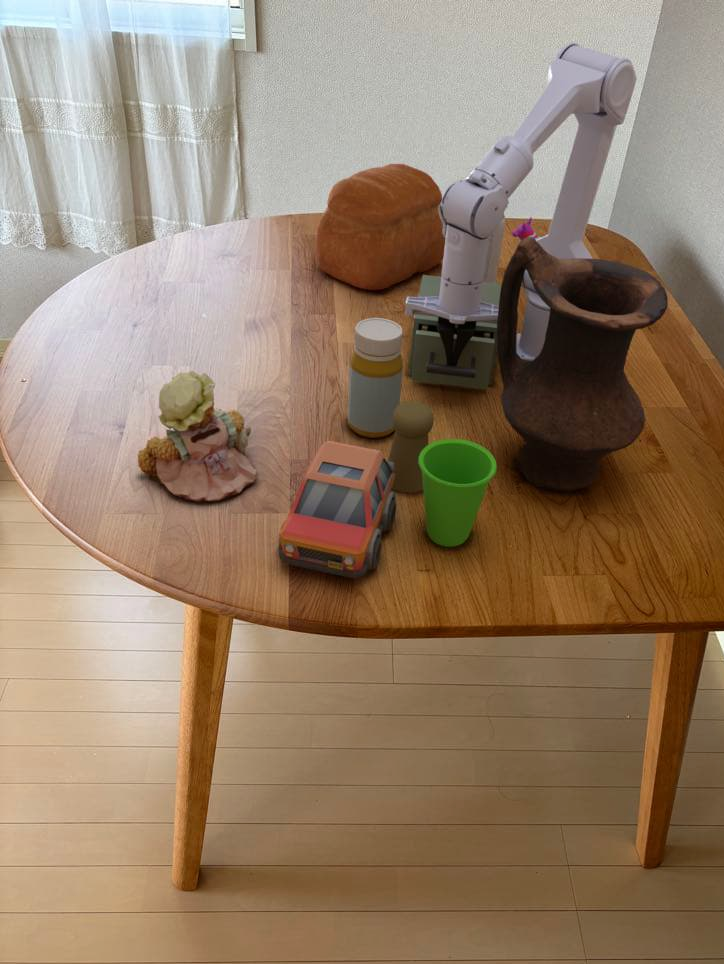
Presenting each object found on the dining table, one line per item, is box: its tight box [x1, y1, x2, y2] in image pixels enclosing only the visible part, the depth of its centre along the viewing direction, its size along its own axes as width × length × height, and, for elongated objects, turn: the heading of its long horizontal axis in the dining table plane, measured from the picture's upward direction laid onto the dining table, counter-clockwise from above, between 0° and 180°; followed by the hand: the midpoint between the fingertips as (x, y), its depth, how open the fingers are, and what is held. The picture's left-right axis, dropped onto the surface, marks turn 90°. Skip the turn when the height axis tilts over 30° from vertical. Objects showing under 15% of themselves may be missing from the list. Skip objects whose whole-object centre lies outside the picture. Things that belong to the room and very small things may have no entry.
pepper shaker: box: [387, 400, 435, 494], centre depth 115 cm, size 6×6×11 cm
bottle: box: [347, 317, 404, 439], centre depth 123 cm, size 7×7×15 cm
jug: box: [496, 237, 669, 493], centre depth 114 cm, size 21×18×30 cm
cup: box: [418, 438, 498, 548], centre depth 108 cm, size 9×9×11 cm
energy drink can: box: [484, 214, 507, 283], centre depth 157 cm, size 6×6×15 cm
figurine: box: [137, 370, 258, 503], centre depth 112 cm, size 15×14×15 cm
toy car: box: [277, 439, 397, 579], centre depth 106 cm, size 12×17×10 cm
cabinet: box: [408, 274, 502, 386], centre depth 141 cm, size 15×13×10 cm
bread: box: [314, 163, 445, 291], centre depth 160 cm, size 18×21×17 cm
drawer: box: [411, 324, 495, 390], centre depth 136 cm, size 18×11×8 cm, turn 174°
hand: (451, 364), depth 131 cm, fingers closed, pressing on drawer
